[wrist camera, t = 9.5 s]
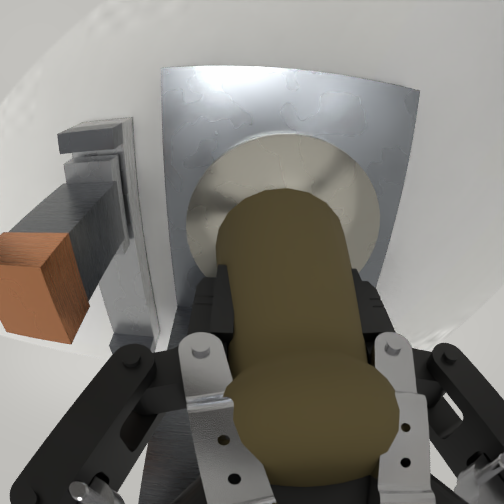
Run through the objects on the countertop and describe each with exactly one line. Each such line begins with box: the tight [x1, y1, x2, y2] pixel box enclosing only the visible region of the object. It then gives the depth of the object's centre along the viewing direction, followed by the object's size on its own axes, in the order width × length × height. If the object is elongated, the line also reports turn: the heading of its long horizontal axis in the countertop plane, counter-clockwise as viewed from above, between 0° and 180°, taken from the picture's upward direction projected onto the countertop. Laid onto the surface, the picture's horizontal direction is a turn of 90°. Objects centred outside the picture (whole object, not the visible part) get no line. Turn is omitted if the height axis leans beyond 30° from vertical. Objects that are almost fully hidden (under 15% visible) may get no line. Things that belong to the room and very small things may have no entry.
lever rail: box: [57, 118, 160, 354], centre depth 18 cm, size 15×3×3 cm, turn 178°
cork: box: [215, 188, 405, 487], centre depth 10 cm, size 6×6×11 cm
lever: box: [0, 155, 130, 344], centre depth 12 cm, size 5×3×8 cm, turn 178°
